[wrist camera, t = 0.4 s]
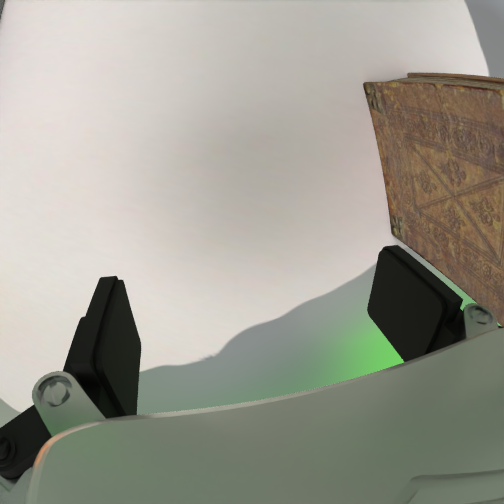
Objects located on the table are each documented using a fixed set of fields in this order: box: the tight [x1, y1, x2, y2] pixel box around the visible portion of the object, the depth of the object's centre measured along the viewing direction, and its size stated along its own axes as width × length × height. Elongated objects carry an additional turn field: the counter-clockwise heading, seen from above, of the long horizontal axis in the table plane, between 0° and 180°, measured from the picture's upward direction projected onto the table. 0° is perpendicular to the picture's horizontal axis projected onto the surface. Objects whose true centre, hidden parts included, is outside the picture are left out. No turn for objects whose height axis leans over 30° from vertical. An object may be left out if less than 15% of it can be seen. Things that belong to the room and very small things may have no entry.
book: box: [363, 73, 504, 327], centre depth 29 cm, size 25×9×30 cm, turn 19°
